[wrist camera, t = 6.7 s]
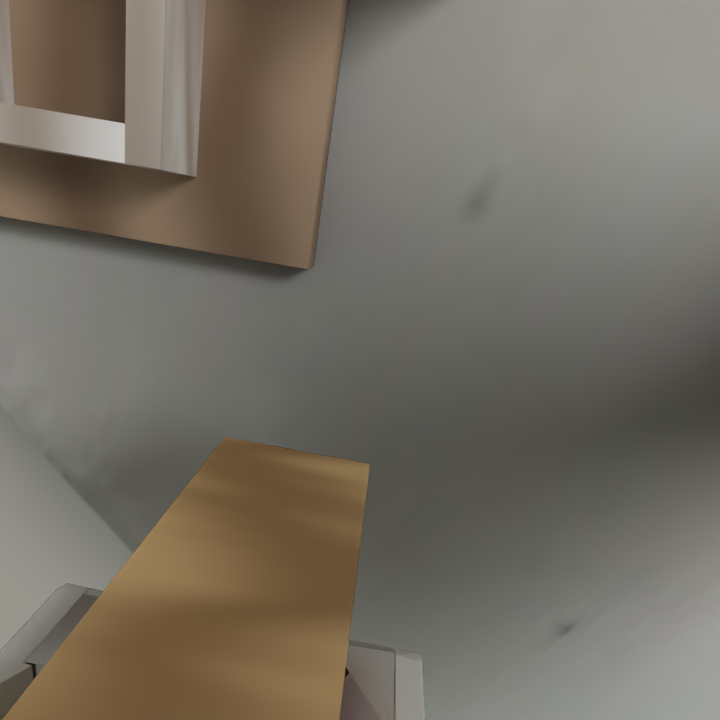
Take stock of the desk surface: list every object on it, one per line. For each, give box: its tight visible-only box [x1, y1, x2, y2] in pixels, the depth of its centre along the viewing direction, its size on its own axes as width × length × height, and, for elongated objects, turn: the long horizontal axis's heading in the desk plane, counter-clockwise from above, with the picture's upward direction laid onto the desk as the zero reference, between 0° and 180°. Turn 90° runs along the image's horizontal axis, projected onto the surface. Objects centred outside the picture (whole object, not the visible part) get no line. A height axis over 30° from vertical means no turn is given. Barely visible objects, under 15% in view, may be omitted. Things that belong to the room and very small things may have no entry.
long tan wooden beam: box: [2, 437, 370, 720], centre depth 8 cm, size 4×4×10 cm
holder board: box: [0, 0, 348, 269], centre depth 16 cm, size 18×14×4 cm
